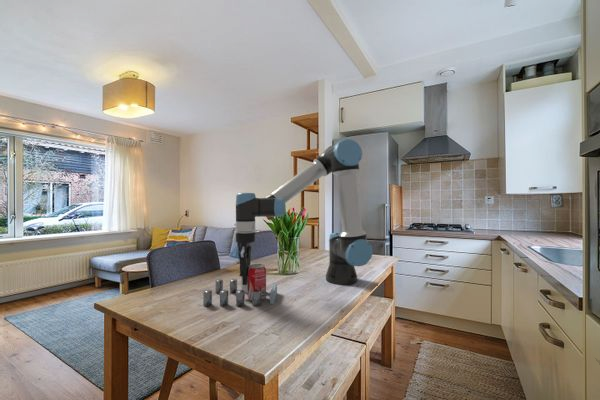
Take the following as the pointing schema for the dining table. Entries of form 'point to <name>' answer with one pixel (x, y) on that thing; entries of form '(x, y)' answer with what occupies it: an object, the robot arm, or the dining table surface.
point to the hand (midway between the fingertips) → (245, 292)
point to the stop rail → (273, 293)
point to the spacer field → (233, 289)
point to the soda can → (256, 280)
